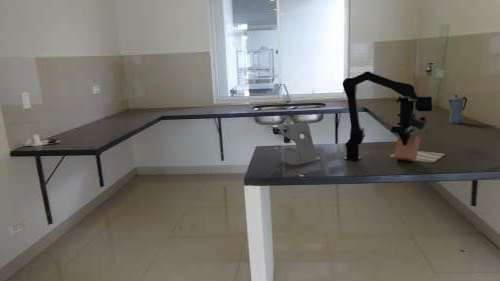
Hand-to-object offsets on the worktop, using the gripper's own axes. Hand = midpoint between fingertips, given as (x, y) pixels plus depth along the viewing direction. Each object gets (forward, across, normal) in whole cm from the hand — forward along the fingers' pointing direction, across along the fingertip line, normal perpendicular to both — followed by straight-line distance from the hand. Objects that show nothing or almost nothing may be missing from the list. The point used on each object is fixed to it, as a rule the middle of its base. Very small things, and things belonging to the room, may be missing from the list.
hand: (405, 145), depth 171 cm
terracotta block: (+7, 0, 0) cm, 7 cm away
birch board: (+8, +14, -1) cm, 16 cm away
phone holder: (+8, -24, +41) cm, 48 cm away
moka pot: (+8, +122, +11) cm, 123 cm away
